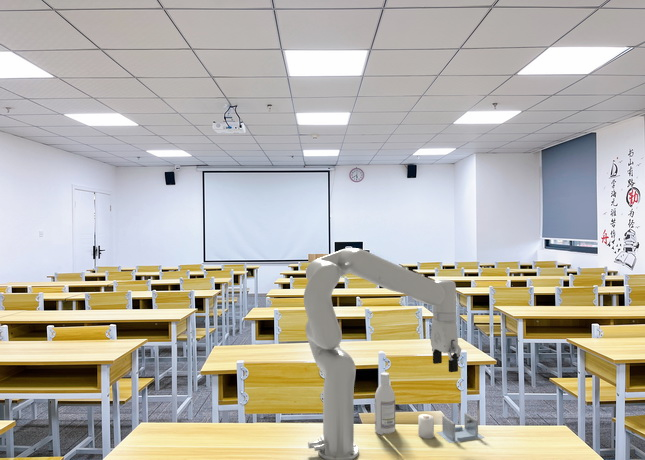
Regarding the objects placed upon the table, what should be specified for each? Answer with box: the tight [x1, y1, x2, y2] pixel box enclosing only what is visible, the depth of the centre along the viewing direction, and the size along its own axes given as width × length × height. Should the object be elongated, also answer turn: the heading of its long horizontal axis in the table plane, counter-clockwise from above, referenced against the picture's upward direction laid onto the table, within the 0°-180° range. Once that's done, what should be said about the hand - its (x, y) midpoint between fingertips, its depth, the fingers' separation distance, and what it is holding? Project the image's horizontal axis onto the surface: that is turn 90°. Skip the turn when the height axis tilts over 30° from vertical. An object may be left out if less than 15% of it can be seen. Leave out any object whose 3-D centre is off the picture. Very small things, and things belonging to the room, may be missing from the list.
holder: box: [436, 425, 485, 444], centre depth 147 cm, size 13×8×2 cm, turn 107°
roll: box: [417, 413, 435, 440], centre depth 147 cm, size 5×5×7 cm
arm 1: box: [441, 415, 456, 441], centre depth 146 cm, size 2×6×6 cm, turn 17°
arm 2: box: [464, 412, 479, 437], centre depth 148 cm, size 2×6×6 cm, turn 17°
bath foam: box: [374, 372, 396, 436], centre depth 152 cm, size 7×7×20 cm
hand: (445, 367), depth 149 cm, fingers open, 9 cm apart
